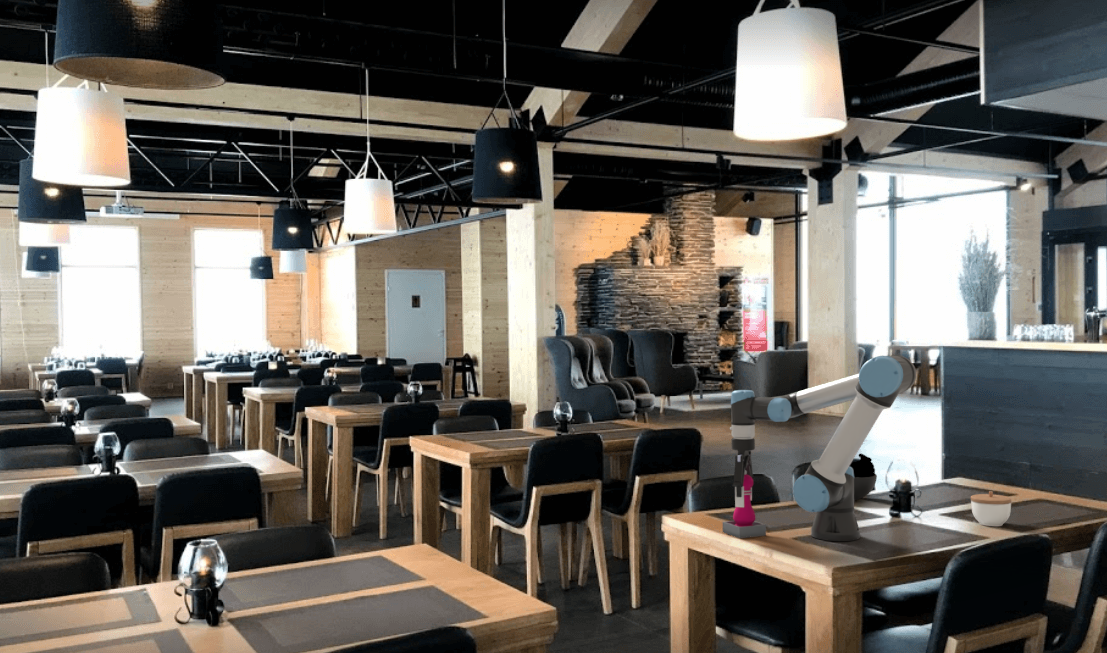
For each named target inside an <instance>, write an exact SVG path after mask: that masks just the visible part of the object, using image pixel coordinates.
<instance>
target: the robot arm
mask: <svg viewBox="0 0 1107 653" xmlns="http://www.w3.org/2000/svg"><path fill="white" fill-rule="evenodd" d="M916 378H917V370H916V367H915V365H914V363H913V362H912V361H911V360H910V359H908V358H907V357H905V356H903V355H899V354H897V355H896V354H893V355H891V354H890V355H878V356H875V357H874V356H873V357H872V358H870V359H868V360H867V361H866V362H864V364H862V366H861V367H860V370H859V372H858V373H856V374H852V375H848V376H845V377H842V378H838V379H835V380H832V381H829V382H826V383H822V384H818V385H816V386H811V387H808V388H805V389H803V390H799V391H795V392H791V393H788V394H785V395H778V396H772V397H771V396H770V397H765V396H764V397H763V396H762V397H758V396H755V392H754V390H750V389H738V390H733V391H732V392H731V396H730V398H731V399H730V409H731V410H730V413H731V414H730V415H731V418H730V420H731V426H730V427H729V430H730V431H731V437H732V438H731V444H730V445H731V450H732V451H733V450H734V451H737V454H735V456H734V461H735V462H734V475H733V483H732V487H734V501H735V502H734V503H735V504H734V507H735V508H736V507H744V487H743V482H744V474H745V470H746V471H747V475H749V476H751V477H752V479H753V481H755V476H754V473H753V472H754V471H753V463H752V451H754V450H755V449H756V440H755V436H756V427H755V426H756V424H755V421H765V422H767V421H768V422H775V423H781V422H787V421H788V420H789V419H794V418H797V417H799V416H801V415H804V414H808V413H811V412H815V411H818V410H822V409H826V408H829V407H833V406H836V405H840V404H843V403H848V402H852V403H851V404H850V406H849V408H848V409H847V411H846V413H845V415H844V416H843V418H842V420H841V421H840V423H839V425H838V426H837V428H836V429H835V432H834V434H833V435H832V436H831V439H830V440H829V442H828V443H827V445H826V446H825V449H824V450H823V452H822V454H821V455H820V457H819V459H816V460H812V461H811V463H810V464H809V465H808V468H807V470H806V471H805V473H804V474H802V475H800V476H799V477H798V478H797V479H795V481H794V483H793V486H792V495H793V497H794V500H795V502H796V504H797V505H798V506H799V507H800V508H802V509H803V510H804V511H806V512H809V513H815V515H814V518H813V523H812V526H811V529H810V536H811V537H813V538H816V539H817V540H822V541H829V542H830V541H831V542H850V541H856V540H858V539H860V538H861V530H860V528H859V524H858V521H857V517H856V515H855V500H854V472H853V468H852V467H850V464H851V463H852V462H853V461H854V459H855V457H856V456H857V453H858V452H859V451H860V448H861V447H862V445H863V444H864V442H865V441H866V440H867V437H868V436H869V434H870V432H871V431H872V429H873V427H874V425H875V424H876V422H877V420H878V419H879V417H880V415H881V413H882V411H884V410H888V409H890V408H891V407H892V406H893V404H894V402H895V401H896V399H897V398H898V396H899V395H900V394H901V393H905V392H907V391H908V390H910V389H911V388H912V387H913V385H914V384H915V382H916ZM751 490H752V491H753V486H752V487H751ZM751 501H753V493H752V494H751V495H750V502H751Z"/></svg>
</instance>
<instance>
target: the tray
mask: <svg viewBox="0 0 1107 653" xmlns="http://www.w3.org/2000/svg"><path fill="white" fill-rule="evenodd" d="M735 524H736V522H735V521H734V520H729V521H727V520H726V521H722V533H723V532H724V533H723V534H726V533H727V534H726V535H730V536H731V535H732V537H734V536H735V538H738V539H745V538H755V537H763V536H767V535H766V534H767V529H766V528H767V526H766V524H765V523H762V522H759V521H756V520H755V521H754V522H753V524H752V525H754V526H745V527H738V526H735Z"/></svg>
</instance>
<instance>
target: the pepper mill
mask: <svg viewBox="0 0 1107 653" xmlns="http://www.w3.org/2000/svg"><path fill="white" fill-rule="evenodd" d="M753 486H754V480H753V479H752V477H751V476H749V475H747V471H746V470H745V474H744V482H743V487H744V507H735V508H734V511H733V514H732V519H733V521H735V522H736V524H735V526H738V527H745V526H754V525H752V524H753V522H754V521H756V519H757V518H756V512H755V510H754V508H753V506H752V503H751V500H750V495H751V494H752V495H753V489H752V490H751V487H752V488H753Z"/></svg>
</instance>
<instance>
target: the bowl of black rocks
mask: <svg viewBox="0 0 1107 653" xmlns="http://www.w3.org/2000/svg"><path fill="white" fill-rule="evenodd" d="M858 457H859V458H860V459H859V460H856V461H854V460H852V462H851V464H850V467H852V468H853V472H854V501H857V500H858V501H859V500H861V499H862V498H865V497H867V496H868V495H869V494H870V493H871V492H872V491H873V489H874V488H875V485H876V482H877V478H878V476H877V474H876V469H875V465H874V463H873V462H872V461H873V460H872V458H871V457H869V456H867V455H865V454H863V453H859V454H858Z"/></svg>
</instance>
